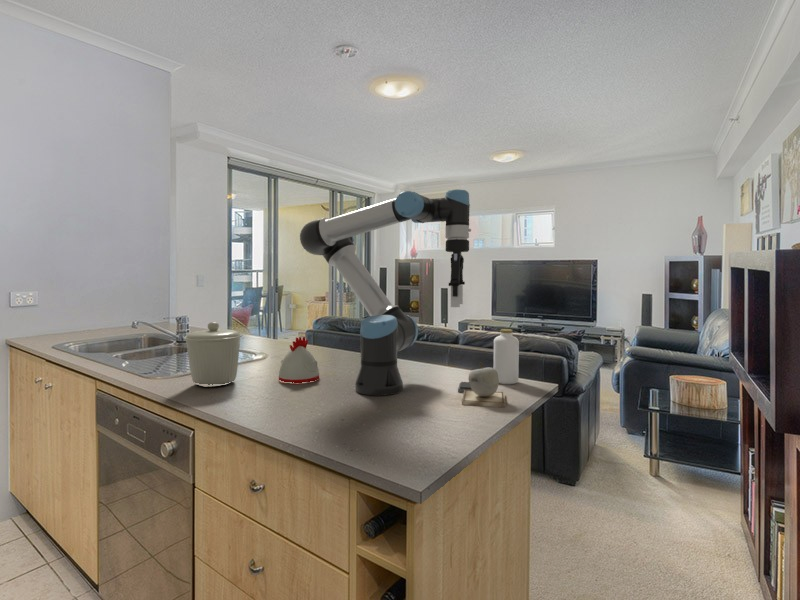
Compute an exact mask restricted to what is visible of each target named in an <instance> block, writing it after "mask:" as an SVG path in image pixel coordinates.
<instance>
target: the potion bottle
mask: <svg viewBox="0 0 800 600" xmlns="http://www.w3.org/2000/svg"><path fill="white" fill-rule="evenodd" d="M513 331H514V330H513V329H510V328H509V329H508V328H502V329H500V331H499V335H498V336H495V337H494V339H493V368H494V369H495V370H496V371H497V373H498V378H499V384H500V385H515V384H517V383H518V382H519V367H520V366H519V361H520V359H519V357H520V355H519V353H520V352H519V351H520V349H519V348H520V341H519V338H517V337H516V336H514V335H513V334H514V332H513Z"/></svg>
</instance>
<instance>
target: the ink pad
mask: <svg viewBox="0 0 800 600" xmlns="http://www.w3.org/2000/svg"><path fill="white" fill-rule="evenodd" d="M464 390H472V389H471V387H470V384H469V381H461V382H459V385H458V387H457V392H458V393H464Z"/></svg>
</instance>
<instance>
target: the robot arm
mask: <svg viewBox="0 0 800 600" xmlns="http://www.w3.org/2000/svg"><path fill="white" fill-rule="evenodd" d="M470 208H471V205H470V193H469V191H467V190H465V189H460V188H459V189H451V190H450V189H449V190H447V191H446V192H445V196H444V197H441V198H429V197H426V196H424V195H421V194H419V193H418V192H415V191H411V190H404V191H402V192H400V193H399V194H398V195H397V196H396V197H395V198H392V199H389V200H385V201H382V202H379V203H376V204H373V205H369V206H366V207H363V208H360V209H358V210H354V211H350V212H348V213H344V214H341V215H338V216H335V217H331V218H328V217H325V216H324V217H322V218H319V219H315V220H311V221H309V222H308V223H306V224H304V226H303V227H302V229H301V231H300V233H299V241H300V245H301V246H302V247H303V248H302V249H303V250H305V251H306V252H307V253H309V254H311V255H313V256H321V257H323V258H324V259H325V261H326V263H327V264H328V266H330V267H335V268H336V269H337V270H338V272H339V274H340V276H342V278H343V279H344V281H345V282H346V283H347V285H348V286H349V288H350V289H351V291H352V292H353V294H354V295H355V296H356V298H357V300H358V301H359V302H360V303H361V306H363V308H364V309H365V311H366V312H367V313H368V315H369V316H367V317H365V318H363V319H362V320H361V322H360V329H359V334H360V368H359V371H358V374H357V378H356V380H355V386H354V387H355V390H354V391H355V392H356V393H358V394H360V395H364V396H377V397H378V396H379V397H380V396H389V395H395V394H398V393H401V392H403V389H404V388H403V387H404V386H403V385H404V384H403V379H402V376H401V373H400V371H399V366H398V352H400V351H403V350H407V349H409V347H411V346H413V345H414V344H415V343H416V341H417V339H418V336H419V327H418V324H417V322H416V320H415V319H414V318H413V317H411V316H410V315H408V314H405V313H404V312H403V310H402V309H401V307H400V306H399V305H395V304H392V302H391V301H390V299H389V298H388V297H387V295H386V294H385V292H384V291H383V290H382V289H381V287H380V286H379V285H378V283H377V281H376V280H375V279H374V277H373V276H372V275H371V273H370V272H369V270H367V268H366V266H365V265H364V264H363V262H362V261H361V260H360V257H359V256H358V255H357V254H356V251H357V247H356V245H355V243H354V242H355V240H354V237H355V236H358V235H363V234H365V233H369V232H372V231H375V230H378V229H382V228H385V227H388V226H392V225H395V224H399V223H403V222H407V221H410V220H411V222H412V223H418V224H424V223H435V222H437V223H438V222H442V223H443V222H445V229H444V230H445V235H444V236H445V237H444V238H445V239H446V240H445V252H447V253H451V255H450V281H449V282H448V286H449V287H450V308H460V307H461V306H460V305H463V304H464V303H463V302H464V301H463V297H464V293H463V291H464V289H463V288H464V286H463V285H466V282H465V281H464V275H463V272H464V271H463V270H464V262H465V260H464V259H465V258H464V256H463V255H462V253H467V252H469V251H470V241H469V238H470V232H472V229H471V228H470Z"/></svg>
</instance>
